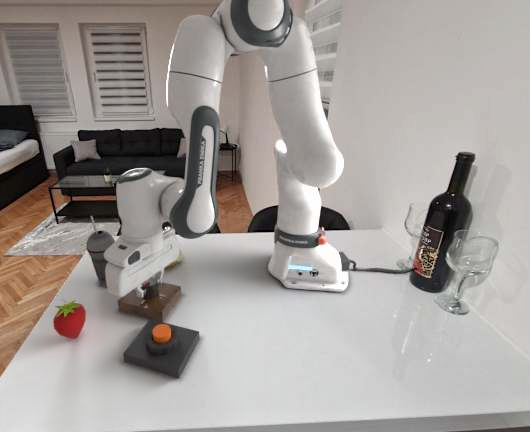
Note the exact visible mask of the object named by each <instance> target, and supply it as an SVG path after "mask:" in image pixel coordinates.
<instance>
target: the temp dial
mask: <svg viewBox="0 0 530 432" xmlns="http://www.w3.org/2000/svg"><path fill="white" fill-rule="evenodd" d="M154 277H155V276H152V277H150V278H149V279H148V280H146V281H145V282H143V283H142V288H143V289H146V295H145V296H144V298H153V297H155V296H157V294H158V284H157V279H156V278H154Z"/></svg>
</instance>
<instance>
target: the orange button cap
mask: <svg viewBox="0 0 530 432" xmlns="http://www.w3.org/2000/svg"><path fill="white" fill-rule="evenodd" d="M152 334H153V340H154V342H156V343H158V344H162V343H166V342H168V341H169V340H170V338H171V329H170V327H169V326H168V325H166V324H160V325H157V326H156V327H155V328H154V329H153V331H152Z"/></svg>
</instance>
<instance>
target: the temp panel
mask: <svg viewBox="0 0 530 432" xmlns="http://www.w3.org/2000/svg"><path fill="white" fill-rule="evenodd" d="M181 297H182V285H177V284H173V283H167V282H163V281H162V283H161V284H160V285H159V286H158V294H157V296H155V297H153V298H144V297H143V298H140V297H138V296H137V293H136V290H135V289H133V290H132V291H131V292H129V293H128V294H126V295H125V296H124V297H122V298H120V297H119V299H118V300H117V306H118V312H121V313H125V314H130V315H134V316H138V317H142V318H145V319H148V320H150V319H152V320H156V321H160V322H165V320H166V319H167V317H168V316H169V314H170V313H171V311H172V310H173V308H174V307H175V306H176V304H177V303H178V301H179V300H180V299H181Z"/></svg>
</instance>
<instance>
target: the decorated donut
mask: <svg viewBox="0 0 530 432" xmlns="http://www.w3.org/2000/svg"><path fill="white" fill-rule="evenodd" d="M182 258H183V254H182V250H181V249H180V248H179V256H178V258H177V259H176V260H175V261H173V262H172V263H170V264H169V265H167V266H166V267H165V268H164V270H168V269H170V268H173V267H175V266H176V265H177V264H178V263H180V262H181V261H182Z"/></svg>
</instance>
